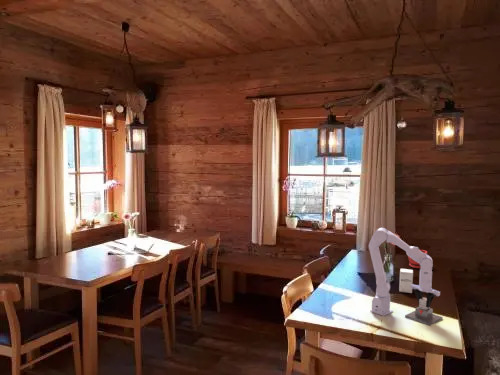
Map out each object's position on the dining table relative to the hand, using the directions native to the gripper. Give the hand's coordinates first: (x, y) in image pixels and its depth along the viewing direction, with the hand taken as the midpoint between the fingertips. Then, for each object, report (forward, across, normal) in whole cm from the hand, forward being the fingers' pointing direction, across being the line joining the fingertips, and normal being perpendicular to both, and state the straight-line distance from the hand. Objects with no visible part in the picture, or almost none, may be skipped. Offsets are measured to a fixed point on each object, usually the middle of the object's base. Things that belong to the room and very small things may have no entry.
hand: (424, 305), depth 209 cm
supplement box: (+7, -28, +31) cm, 42 cm away
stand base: (+6, 0, 0) cm, 6 cm away
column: (+5, 0, 0) cm, 5 cm away
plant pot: (+7, -51, +86) cm, 100 cm away
